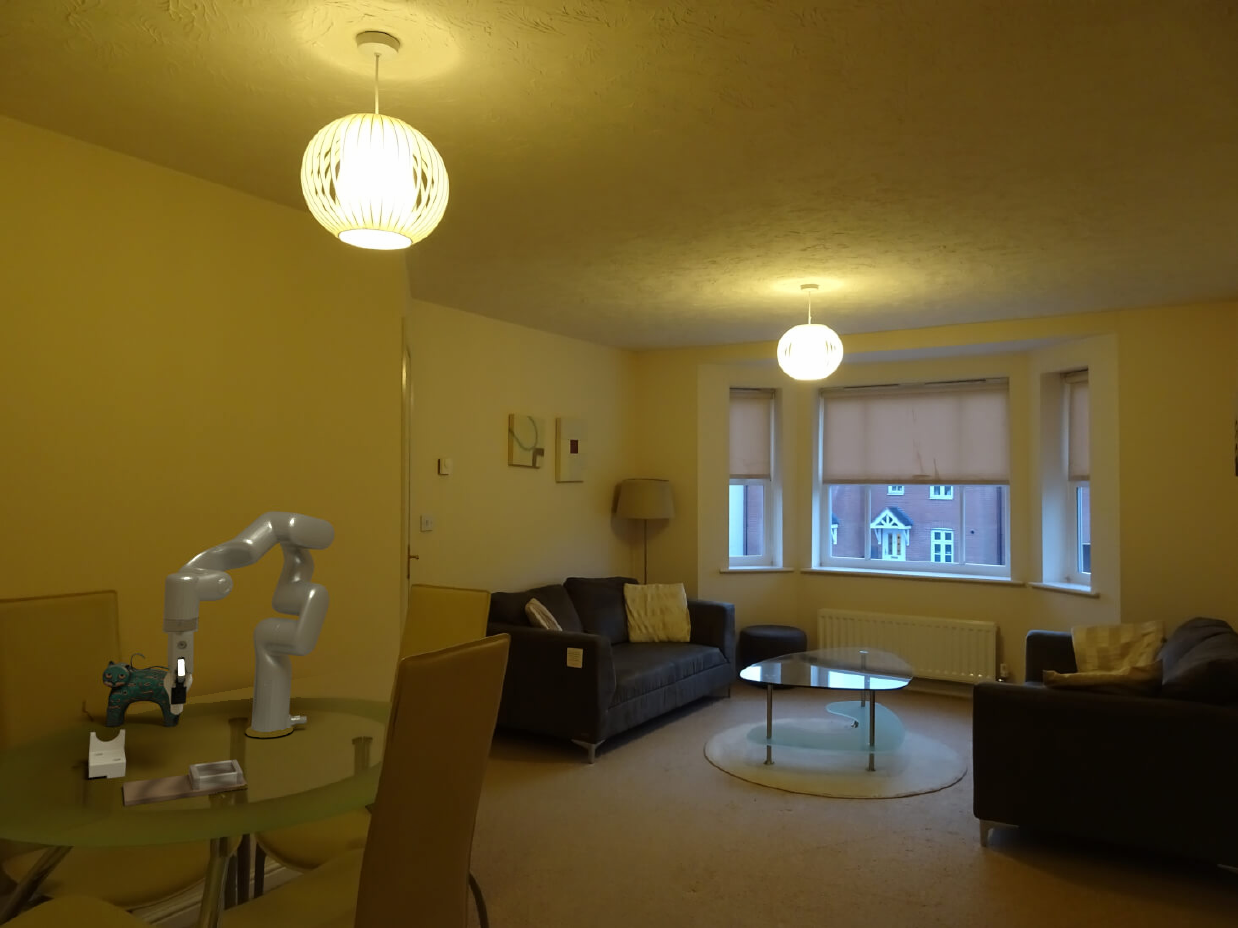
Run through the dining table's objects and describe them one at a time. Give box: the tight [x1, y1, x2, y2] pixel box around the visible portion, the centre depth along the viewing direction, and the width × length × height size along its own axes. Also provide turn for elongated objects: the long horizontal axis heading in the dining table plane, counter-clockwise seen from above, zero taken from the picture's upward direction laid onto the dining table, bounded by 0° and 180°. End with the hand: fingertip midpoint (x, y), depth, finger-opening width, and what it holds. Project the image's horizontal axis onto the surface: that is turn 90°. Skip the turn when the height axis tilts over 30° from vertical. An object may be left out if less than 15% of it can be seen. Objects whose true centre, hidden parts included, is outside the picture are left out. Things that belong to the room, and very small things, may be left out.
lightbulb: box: [164, 669, 193, 715], centre depth 199 cm, size 6×6×11 cm
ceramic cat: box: [101, 652, 181, 728], centre depth 232 cm, size 20×6×20 cm, turn 99°
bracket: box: [88, 729, 127, 779], centre depth 197 cm, size 13×7×8 cm, turn 33°
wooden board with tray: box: [122, 759, 248, 807], centre depth 188 cm, size 24×12×4 cm, turn 123°
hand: (177, 699), depth 199 cm, fingers closed on lightbulb, 5 cm apart
